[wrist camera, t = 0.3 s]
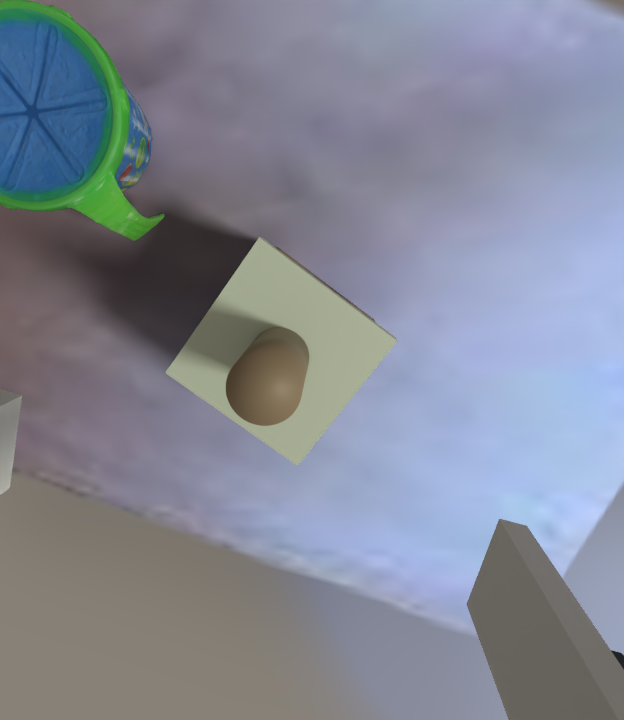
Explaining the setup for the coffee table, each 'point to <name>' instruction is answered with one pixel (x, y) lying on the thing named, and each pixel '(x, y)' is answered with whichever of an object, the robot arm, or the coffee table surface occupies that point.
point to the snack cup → (67, 121)
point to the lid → (280, 352)
